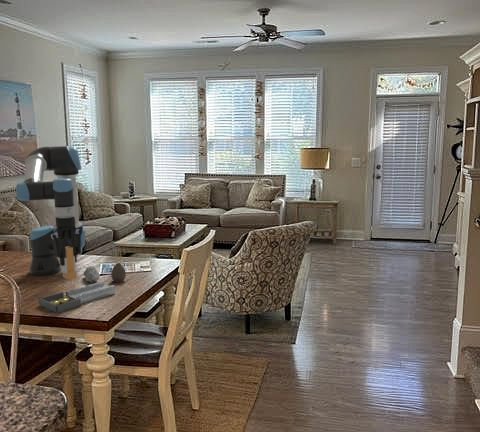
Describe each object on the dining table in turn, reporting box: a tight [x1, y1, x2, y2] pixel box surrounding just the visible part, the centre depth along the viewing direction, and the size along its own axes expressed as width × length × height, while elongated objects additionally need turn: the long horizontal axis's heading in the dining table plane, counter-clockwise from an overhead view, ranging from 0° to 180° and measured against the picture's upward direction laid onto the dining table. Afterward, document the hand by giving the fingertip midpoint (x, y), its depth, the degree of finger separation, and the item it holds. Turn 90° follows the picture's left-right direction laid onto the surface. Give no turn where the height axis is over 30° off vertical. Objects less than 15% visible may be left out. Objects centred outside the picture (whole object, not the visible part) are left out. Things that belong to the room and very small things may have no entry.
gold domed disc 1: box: [50, 300, 60, 305], centre depth 194 cm, size 4×4×2 cm
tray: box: [38, 291, 82, 314], centre depth 195 cm, size 14×11×3 cm
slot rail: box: [65, 281, 116, 305], centre depth 206 cm, size 10×18×4 cm, turn 140°
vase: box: [110, 262, 127, 283], centre depth 228 cm, size 7×7×9 cm
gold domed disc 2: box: [59, 296, 69, 304], centre depth 197 cm, size 4×4×2 cm
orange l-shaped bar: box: [62, 246, 78, 281], centre depth 197 cm, size 6×3×13 cm, turn 50°
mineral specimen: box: [83, 265, 101, 284], centre depth 229 cm, size 16×7×7 cm, turn 24°
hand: (69, 271), depth 198 cm, fingers closed on orange l-shaped bar, 3 cm apart
